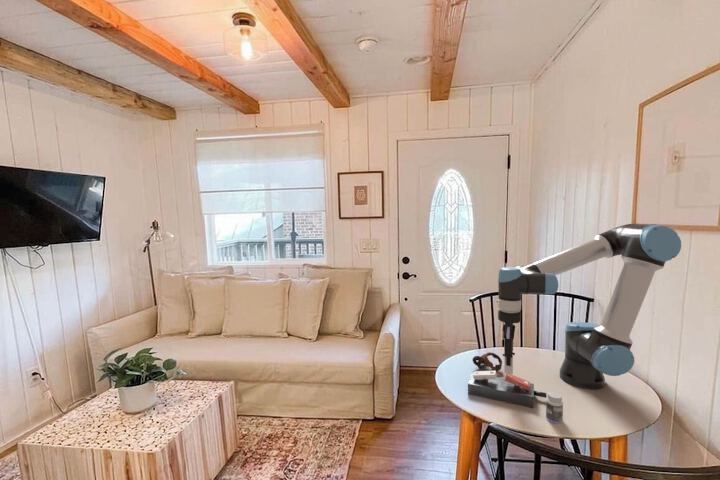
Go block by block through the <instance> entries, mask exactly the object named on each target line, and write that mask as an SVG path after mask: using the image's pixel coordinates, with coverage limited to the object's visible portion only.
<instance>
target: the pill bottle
mask: <svg viewBox="0 0 720 480" xmlns="http://www.w3.org/2000/svg"><path fill="white" fill-rule="evenodd" d="M545 402H546V403H545V404H546V405H545V406H546V407H545V418H546V420H548V421H549V422H551V423H553V424H562V422H563V416H564V412H563V411H564V403H563V396H562V394H561V393H558V392H556V391H549V392H548V393H547V397H546V401H545Z"/></svg>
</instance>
